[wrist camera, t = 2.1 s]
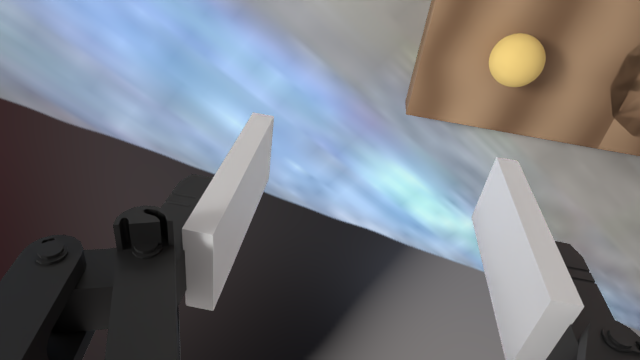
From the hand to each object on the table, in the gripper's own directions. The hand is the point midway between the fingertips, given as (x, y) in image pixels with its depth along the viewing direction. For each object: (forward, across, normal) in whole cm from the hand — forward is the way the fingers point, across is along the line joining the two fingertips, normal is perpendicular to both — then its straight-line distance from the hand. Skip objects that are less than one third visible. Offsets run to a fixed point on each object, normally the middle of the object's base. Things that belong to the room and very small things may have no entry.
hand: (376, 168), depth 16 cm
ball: (+17, +9, 0) cm, 19 cm away
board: (+21, +16, 0) cm, 27 cm away
